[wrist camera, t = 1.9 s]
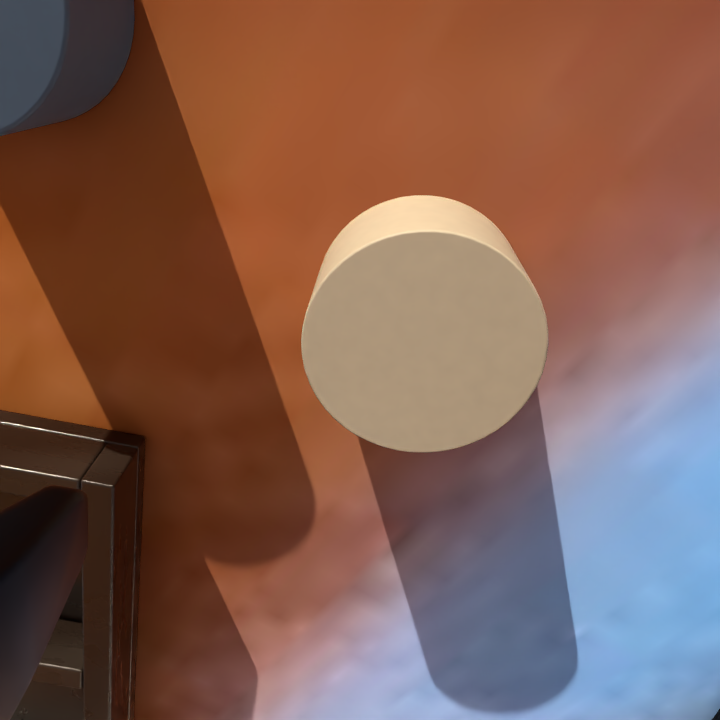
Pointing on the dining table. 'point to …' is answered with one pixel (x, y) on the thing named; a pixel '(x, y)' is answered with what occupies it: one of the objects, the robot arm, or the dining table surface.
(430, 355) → the cylinder
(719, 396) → the dining table surface
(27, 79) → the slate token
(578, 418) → the dining table surface
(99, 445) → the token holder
